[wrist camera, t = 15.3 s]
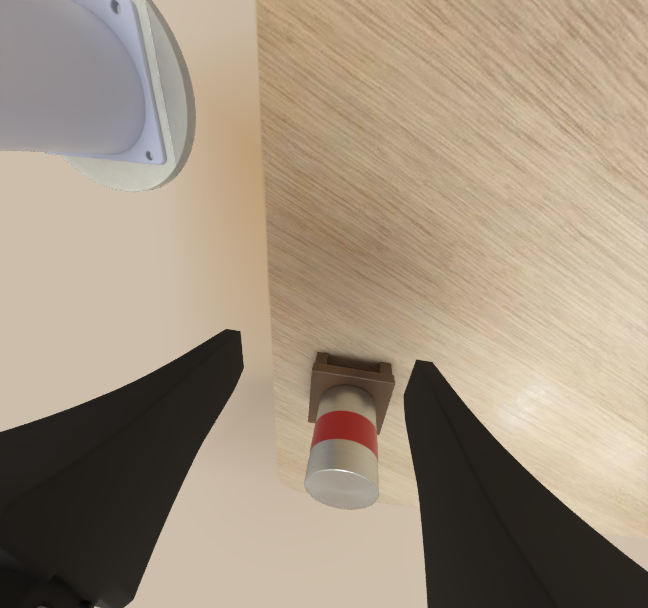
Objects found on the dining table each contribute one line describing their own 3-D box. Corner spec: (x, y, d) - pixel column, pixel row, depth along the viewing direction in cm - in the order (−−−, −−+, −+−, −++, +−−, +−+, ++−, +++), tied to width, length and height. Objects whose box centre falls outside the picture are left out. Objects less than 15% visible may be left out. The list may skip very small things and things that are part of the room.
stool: (312, 401, 27) (307, 422, 25) (316, 351, 24) (311, 370, 22) (378, 413, 27) (379, 435, 25) (392, 362, 23) (395, 383, 21)
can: (311, 409, 24) (293, 493, 18) (333, 376, 22) (321, 459, 16) (359, 429, 25) (357, 517, 18) (386, 398, 22) (394, 489, 16)
